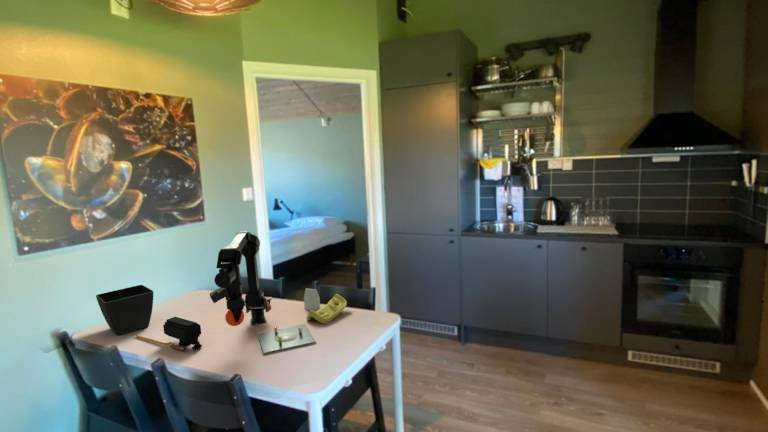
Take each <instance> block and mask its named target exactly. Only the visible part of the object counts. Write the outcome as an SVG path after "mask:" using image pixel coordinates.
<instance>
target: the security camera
mask: <svg viewBox="0 0 768 432" xmlns="http://www.w3.org/2000/svg"><path fill="white" fill-rule="evenodd" d="M165 320H166V321H165V322H164V324H163V326H162V327H163V333H164V334H165V335H166V336H168V337H171V338H174V339H176V340H178V343H177V344H178V346H180V347H184V348H187V347H188V346H191V345H192V347H191V350H193V351H198V350H200V349H202V347H203V345H202V344H201V343H200V341H199V337H200V336H201V335H202V327H201V324H199V323H197V322H196V321H192V320H190V319H189V320H188V319H185V318H181V317H178V316H173V317H171V318H168V319H165Z"/></svg>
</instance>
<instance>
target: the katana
mask: <svg viewBox="0 0 768 432" xmlns="http://www.w3.org/2000/svg"><path fill="white" fill-rule="evenodd" d="M134 335H135V337H136V338H137V339H139V340H143V341H147V342H148V343H149V342H150V343H152V344H153V343H154V344H156V345H159V346H163V347H164V348H168V349H171V350H174V349H176V350H181V351H184V352H185V351H187V347H184V346H181V345H176V344H175V343H174V342H171V341H168V342H162V341H159V340H155V339H152V338H148V337H144V336H141V335H138V334H134Z"/></svg>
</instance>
